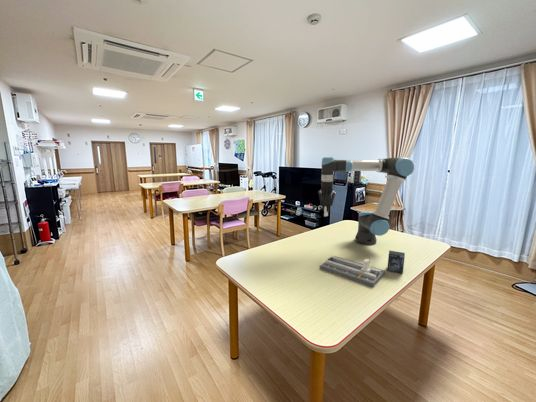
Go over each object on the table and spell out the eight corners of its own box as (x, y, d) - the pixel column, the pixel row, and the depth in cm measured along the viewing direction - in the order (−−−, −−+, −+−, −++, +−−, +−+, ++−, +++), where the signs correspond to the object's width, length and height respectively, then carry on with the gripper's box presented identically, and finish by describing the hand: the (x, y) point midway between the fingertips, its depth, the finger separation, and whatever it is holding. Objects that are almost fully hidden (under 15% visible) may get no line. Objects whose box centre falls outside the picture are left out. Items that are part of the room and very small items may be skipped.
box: (387, 271, 134) (388, 253, 132) (387, 267, 139) (389, 250, 137) (403, 274, 130) (404, 256, 128) (403, 270, 135) (404, 252, 133)
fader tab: (363, 269, 132) (364, 258, 130) (370, 271, 129) (371, 260, 128) (360, 272, 129) (361, 260, 127) (368, 274, 126) (369, 262, 125)
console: (334, 258, 151) (334, 252, 150) (384, 274, 131) (385, 267, 130) (319, 268, 138) (320, 262, 137) (373, 287, 118) (374, 279, 117)
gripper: (315, 181, 158) (314, 215, 162) (333, 182, 149) (332, 218, 154) (321, 180, 163) (320, 213, 168) (339, 181, 155) (337, 216, 159)
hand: (326, 215), depth 161 cm, fingers closed
